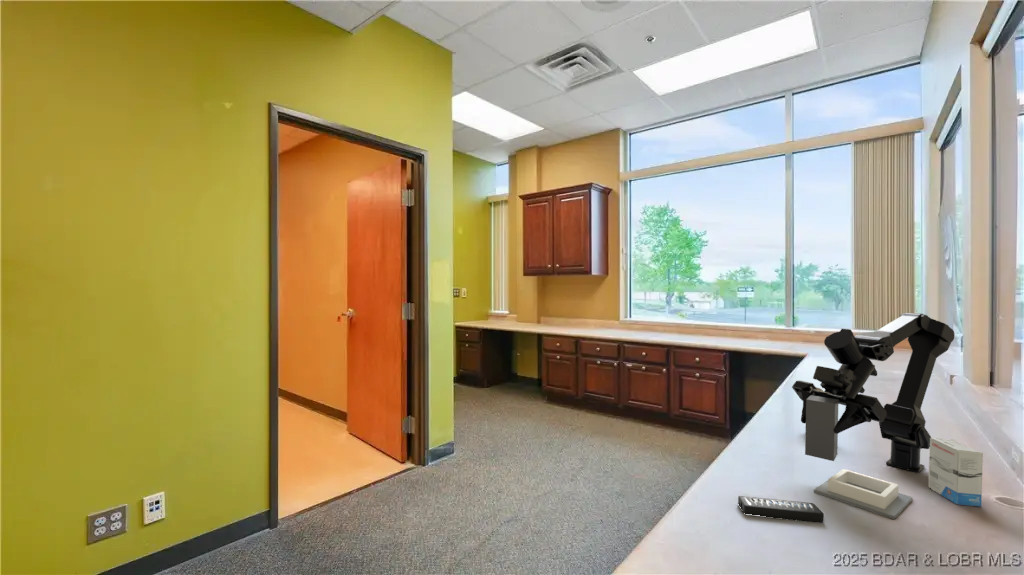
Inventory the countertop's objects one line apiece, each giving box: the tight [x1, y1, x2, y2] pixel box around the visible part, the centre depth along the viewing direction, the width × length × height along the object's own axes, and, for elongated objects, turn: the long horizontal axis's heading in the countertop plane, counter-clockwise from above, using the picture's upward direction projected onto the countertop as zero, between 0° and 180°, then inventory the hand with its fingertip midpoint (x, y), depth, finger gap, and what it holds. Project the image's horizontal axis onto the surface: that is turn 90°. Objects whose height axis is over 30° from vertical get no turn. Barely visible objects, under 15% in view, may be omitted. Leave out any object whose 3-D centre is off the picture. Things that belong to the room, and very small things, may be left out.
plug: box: [804, 395, 840, 462], centre depth 104 cm, size 6×6×13 cm
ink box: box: [928, 437, 984, 507], centre depth 99 cm, size 8×5×12 cm, turn 168°
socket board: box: [813, 468, 913, 520], centre depth 98 cm, size 14×14×3 cm
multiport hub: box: [737, 495, 825, 524], centre depth 90 cm, size 4×14×2 cm, turn 80°
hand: (818, 427), depth 104 cm, fingers closed on plug, 7 cm apart
